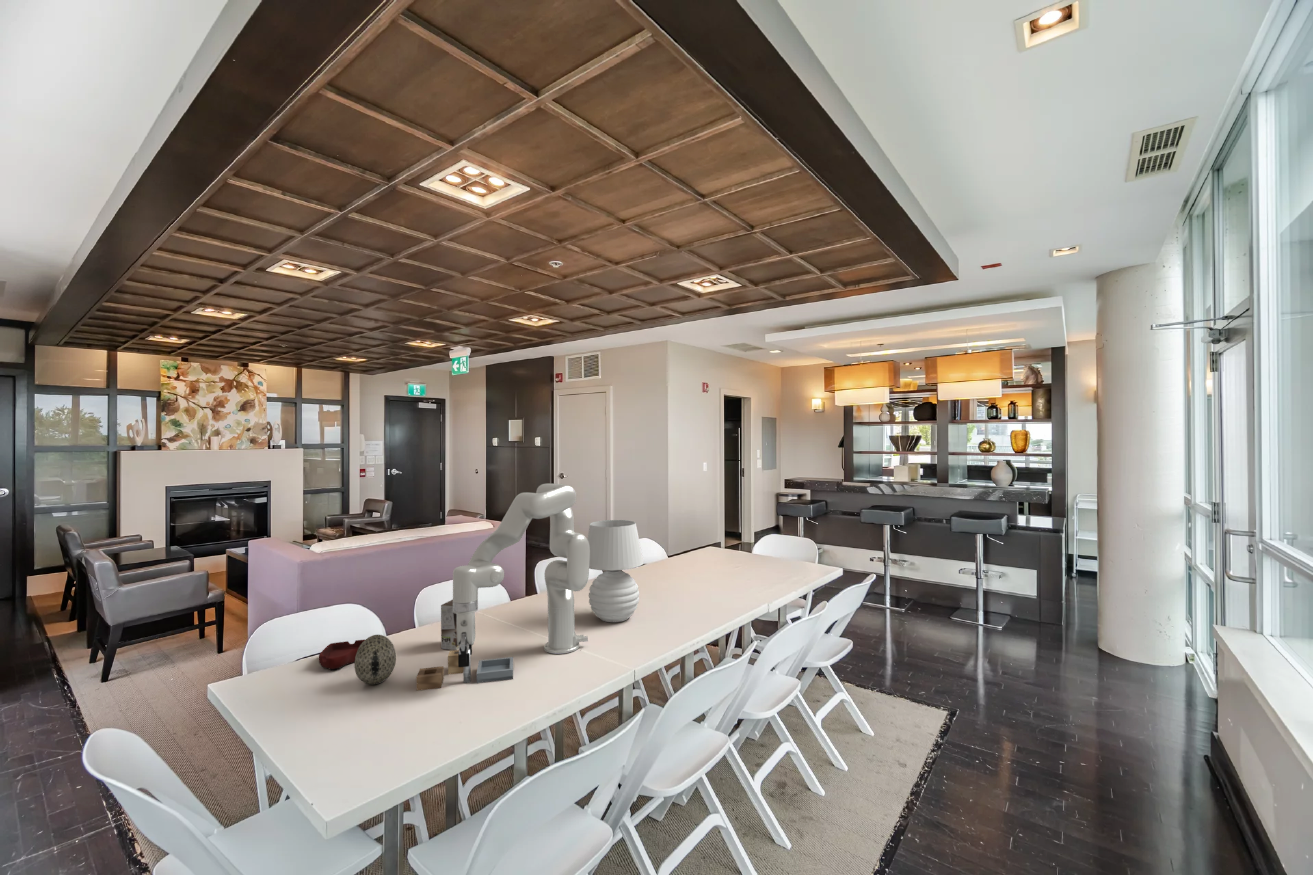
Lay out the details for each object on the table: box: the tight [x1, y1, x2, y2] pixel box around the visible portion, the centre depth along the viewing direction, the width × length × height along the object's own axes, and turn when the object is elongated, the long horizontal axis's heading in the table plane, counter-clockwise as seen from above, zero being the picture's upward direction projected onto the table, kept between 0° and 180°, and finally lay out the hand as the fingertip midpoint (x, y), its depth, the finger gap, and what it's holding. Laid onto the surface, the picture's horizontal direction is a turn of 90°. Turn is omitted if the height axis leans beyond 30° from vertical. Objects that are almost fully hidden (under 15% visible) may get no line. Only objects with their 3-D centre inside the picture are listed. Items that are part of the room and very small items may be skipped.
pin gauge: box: [462, 649, 472, 684], centre depth 181 cm, size 2×2×10 cm
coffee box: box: [440, 598, 459, 651], centre depth 213 cm, size 9×6×16 cm
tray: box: [476, 656, 514, 684], centre depth 186 cm, size 11×11×3 cm
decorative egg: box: [354, 634, 397, 685], centre depth 181 cm, size 12×12×15 cm
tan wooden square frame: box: [415, 665, 445, 692], centre depth 179 cm, size 7×7×4 cm
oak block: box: [447, 649, 463, 675], centre depth 189 cm, size 5×5×6 cm
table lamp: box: [586, 519, 645, 623], centre depth 241 cm, size 25×25×40 cm
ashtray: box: [318, 639, 366, 672], centre depth 200 cm, size 18×16×5 cm
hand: (465, 660), depth 180 cm, fingers open, 9 cm apart
